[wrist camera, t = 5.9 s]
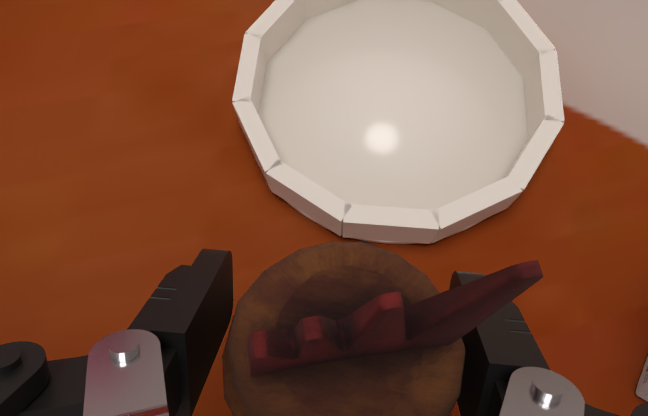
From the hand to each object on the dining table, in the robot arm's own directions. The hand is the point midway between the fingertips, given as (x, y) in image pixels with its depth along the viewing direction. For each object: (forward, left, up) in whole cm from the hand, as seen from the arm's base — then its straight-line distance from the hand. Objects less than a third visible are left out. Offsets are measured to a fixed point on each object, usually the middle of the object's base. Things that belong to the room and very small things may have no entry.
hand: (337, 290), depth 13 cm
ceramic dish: (+2, +14, -12) cm, 19 cm away
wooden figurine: (0, -2, -8) cm, 8 cm away
